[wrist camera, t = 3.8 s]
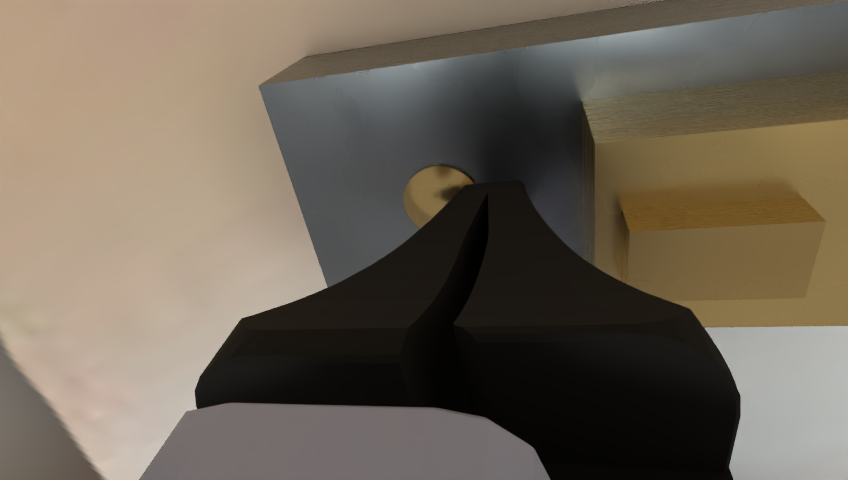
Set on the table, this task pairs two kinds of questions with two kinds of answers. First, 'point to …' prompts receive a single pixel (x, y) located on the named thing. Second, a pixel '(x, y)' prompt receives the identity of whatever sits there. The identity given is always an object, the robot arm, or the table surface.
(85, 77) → the table surface
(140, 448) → the table surface
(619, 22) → the steel plate with brass
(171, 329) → the table surface
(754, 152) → the lever cap
